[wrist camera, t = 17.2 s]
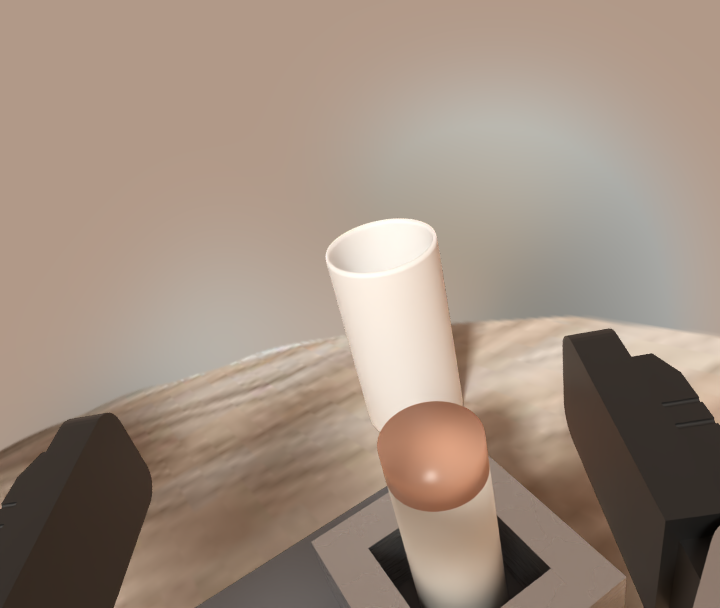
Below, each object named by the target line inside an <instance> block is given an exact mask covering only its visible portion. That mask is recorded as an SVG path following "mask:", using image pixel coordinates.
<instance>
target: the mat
mask: <svg viewBox="0 0 720 608" xmlns="http://www.w3.org/2000/svg"><path fill="white" fill-rule="evenodd" d="M388 492H389V490H388V487H387V486H386V487H385V488H383V489H381V490H380V491H378V492H377V493H375V494H374V495H372V496H370V497H369V498H367V499H366V500H364V501H363V502H361V503H359V504H358V505H356V506H355V507H353V508H351V509H350V510H348V511H347V512H345V513H344V514H342V515H340V516H339V517H337V518H336V519H334V520H333V521H331V522H329V523H328V524H326V525H325V526H323V527H321V528H320V529H318V530H317V531H315V532H314V533H312V534H310V535H309V536H307V537H306V538H304V539H303V540H301V541H299V542H298V543H296V544H295V545H293V546H292V547H290V548H288V549H287V550H285V551H284V552H282V553H280V554H279V555H277V556H276V557H274V558H273V559H271V560H269V561H268V562H266V563H265V564H263V565H262V566H260V567H258V568H257V569H255V570H254V571H252V572H250V573H249V574H247V575H246V576H244V577H243V578H241V579H239V580H238V581H236V582H235V583H233V584H232V585H230V586H228V587H227V588H225V589H224V590H222V591H221V592H219V593H217V594H216V595H214V596H213V597H211V598H209V599H208V600H206V601H205V602H203V603H202V604H200V605H198V606H197V607H195V608H342V607H341V605H340V604H339V602H338V600H337V599H336V597H335V595H334V594H333V592H332V590H331V588H330V586H329V583H328V581H327V579H326V576H325V574H324V571H323V569H322V567H321V564H320V562H319V560H318V557H317V555H316V552H315V550H314V548H313V545H312V543H311V542H312V541H313V540H315V539H316V538H318V537H320V536H321V535H323V534H324V533H326V532H327V531H329V530H330V529H332V528H334V527H335V526H337V525H338V524H340V523H341V522H343V521H345V520H346V519H348V518H349V517H351V516H352V515H354V514H356V513H357V512H359V511H360V510H362V509H363V508H365V507H366V506H368V505H370V504H371V503H373V502H374V501H376V500H377V499H379V498H381V497H382V496H384V495H385V494H387V493H388ZM504 571H505V578H506V586H507V593H508V600H509V601H510V600H511V599H512V598H514V597H515V596H516V595H517V594H519V593H520V592H521V591H523V590H524V589H525V588H524V587H523V586H522V585H521V584H520V583H519V582H518V581H517V580H516V579H515V578H514V577H513V576H512V574H511V573H510V572H509V571H508V570H507V569H506V568H505V567H504ZM397 590H398V591H399V593H400V594H401V595H402V597H403V598H404V600H405V601H406V602H407V604H408V605H409V607H410V608H421V606H420V602H419V598H418V595H417V591H416V588H415V584H414V580H413V577H412V578H411V579H409V580H408V581H406V582H405V583H404V584H402V585H401V586H399V587H398V588H397Z"/></svg>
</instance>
